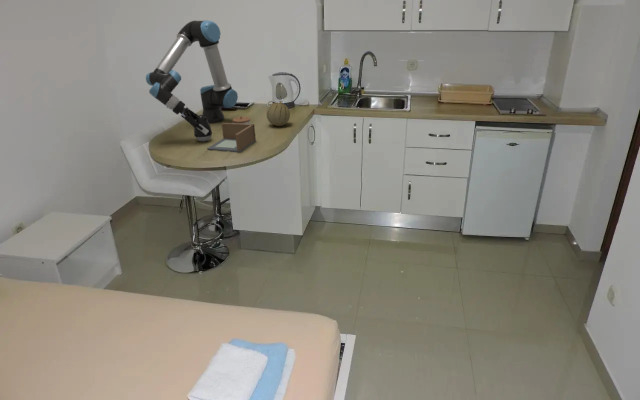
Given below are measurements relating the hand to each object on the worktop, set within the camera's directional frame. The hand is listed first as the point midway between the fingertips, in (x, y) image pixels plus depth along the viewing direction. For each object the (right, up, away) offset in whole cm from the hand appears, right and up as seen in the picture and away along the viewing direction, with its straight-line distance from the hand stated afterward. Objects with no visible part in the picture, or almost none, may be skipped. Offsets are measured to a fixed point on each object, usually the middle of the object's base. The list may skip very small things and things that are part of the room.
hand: (208, 130), depth 261 cm
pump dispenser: (-3, -6, +2) cm, 7 cm away
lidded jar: (+17, +2, +17) cm, 24 cm away
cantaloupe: (+39, +7, +26) cm, 47 cm away
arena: (+16, -10, -8) cm, 20 cm away
